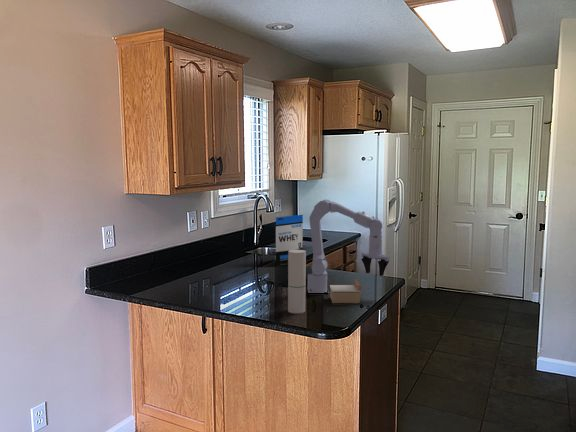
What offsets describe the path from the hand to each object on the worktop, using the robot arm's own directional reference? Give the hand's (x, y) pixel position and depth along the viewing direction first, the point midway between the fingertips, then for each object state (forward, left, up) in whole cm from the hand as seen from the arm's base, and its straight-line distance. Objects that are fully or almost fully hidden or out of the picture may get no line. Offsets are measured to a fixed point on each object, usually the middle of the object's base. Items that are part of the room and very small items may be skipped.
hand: (374, 274), depth 221 cm
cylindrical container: (-37, -23, -10) cm, 45 cm away
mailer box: (-15, -8, -10) cm, 20 cm away
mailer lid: (-15, -8, -5) cm, 18 cm away
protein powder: (-38, +74, -10) cm, 84 cm away
